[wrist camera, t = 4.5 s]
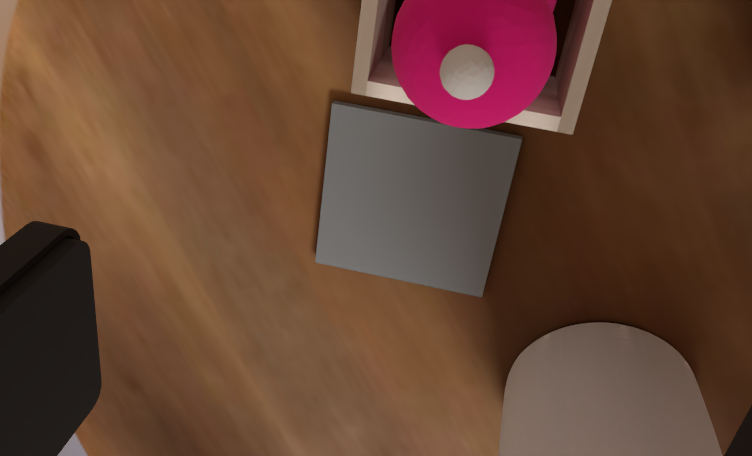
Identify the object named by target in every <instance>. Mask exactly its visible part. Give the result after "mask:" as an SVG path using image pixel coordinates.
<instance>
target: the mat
mask: <svg viewBox="0 0 752 456" xmlns="http://www.w3.org/2000/svg"><path fill="white" fill-rule="evenodd" d="M521 142H522V136H520V135H514V134H509V133H504V132H499V131H493V130H488V129H483V128H479V129H467V128H458V127H453V126H449V125H446V124H442V123H440V122H438V121H436V120H435V119H430V118H425V117H420V116H415V115H409V114H404V113H399V112H394V111H388V110H383V109H378V108H373V107H367V106H362V105H357V104H352V103H346V102H341V101H336V100H334V101H333V103H332V108H331V118H330V127H329V137H328V146H327V156H326V165H325V175H324V184H323V194H322V203H321V213H320V222H319V232H318V241H317V251H316V260H315V262H316V263H321V264H326V265H330V266H335V267H340V268H344V269H349V270H354V271H359V272H363V273H368V274H373V275H378V276H382V277H387V278H392V279H396V280H401V281H406V282H411V283H415V284H420V285H425V286H430V287H434V288H439V289H444V290H448V291H453V292H458V293H463V294H467V295H472V296H477V297H481V298H482V295H483V291H484V287H485V283H486V279H487V275H488V271H489V268H490V264H491V260H492V256H493V252H494V248H495V244H496V240H497V236H498V232H499V228H500V225H501V221H502V217H503V213H504V209H505V205H506V201H507V197H508V193H509V189H510V185H511V182H512V178H513V174H514V170H515V166H516V162H517V158H518V154H519V150H520V146H521Z"/></svg>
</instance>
